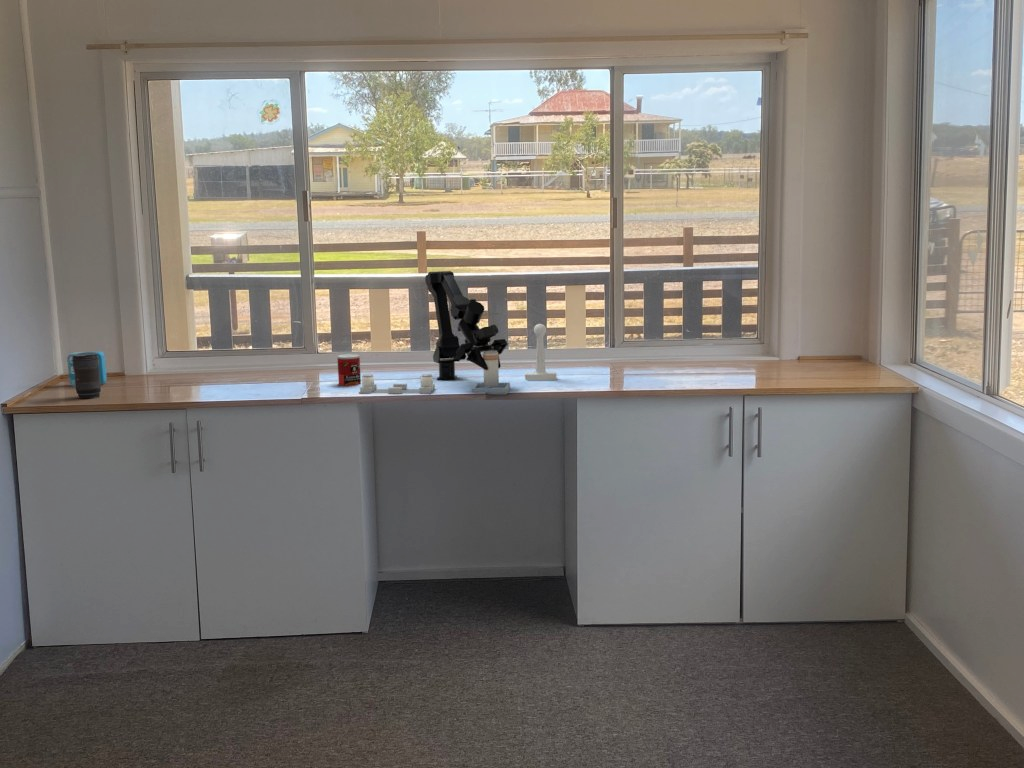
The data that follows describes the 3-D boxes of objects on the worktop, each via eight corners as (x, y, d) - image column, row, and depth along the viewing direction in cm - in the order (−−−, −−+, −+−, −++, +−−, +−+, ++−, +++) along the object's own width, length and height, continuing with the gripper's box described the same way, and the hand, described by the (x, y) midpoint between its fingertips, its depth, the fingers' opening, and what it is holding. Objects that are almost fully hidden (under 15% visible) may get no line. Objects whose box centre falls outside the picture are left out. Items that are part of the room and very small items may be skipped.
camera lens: (71, 398, 344) (66, 354, 342) (92, 394, 351) (88, 351, 348) (85, 400, 340) (81, 356, 337) (106, 396, 346) (102, 352, 344)
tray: (476, 388, 346) (476, 382, 346) (510, 388, 345) (510, 382, 345) (472, 394, 335) (472, 388, 335) (507, 394, 334) (507, 388, 334)
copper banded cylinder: (480, 385, 340) (479, 350, 338) (492, 383, 343) (491, 349, 341) (490, 387, 336) (489, 352, 334) (502, 385, 340) (501, 350, 338)
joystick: (525, 381, 359) (524, 324, 356) (524, 377, 367) (523, 322, 363) (556, 380, 360) (556, 324, 357) (554, 376, 367) (553, 321, 364)
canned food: (345, 389, 350) (343, 358, 348) (334, 386, 356) (333, 355, 355) (365, 386, 354) (363, 355, 353) (354, 384, 361) (353, 353, 359)
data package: (69, 386, 368) (66, 354, 366) (73, 384, 372) (70, 352, 370) (104, 385, 369) (101, 352, 367) (107, 383, 374) (104, 351, 372)
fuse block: (364, 391, 345) (364, 383, 344) (437, 391, 342) (437, 383, 341) (357, 396, 336) (357, 388, 336) (432, 396, 333) (431, 388, 333)
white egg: (364, 390, 342) (363, 374, 341) (375, 390, 342) (375, 373, 341) (361, 392, 338) (360, 375, 337) (373, 392, 338) (372, 375, 337)
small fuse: (422, 390, 340) (421, 373, 339) (434, 390, 339) (433, 373, 338) (420, 392, 336) (419, 375, 335) (432, 392, 335) (431, 375, 334)
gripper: (460, 319, 333) (481, 356, 327) (503, 315, 345) (525, 350, 338) (446, 341, 340) (467, 377, 334) (489, 336, 352) (510, 370, 346)
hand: (493, 368), depth 338 cm, fingers closed on copper banded cylinder, 5 cm apart
